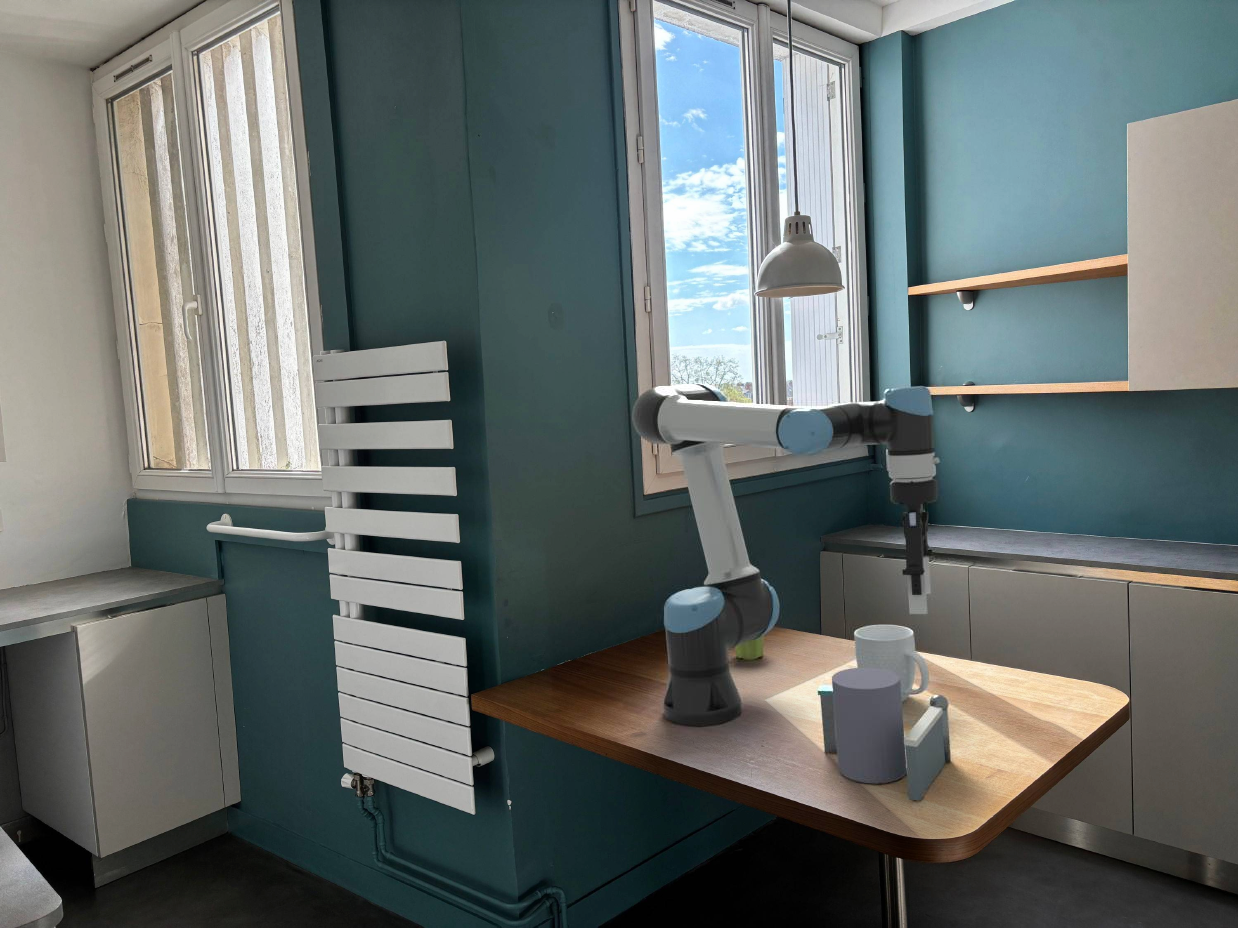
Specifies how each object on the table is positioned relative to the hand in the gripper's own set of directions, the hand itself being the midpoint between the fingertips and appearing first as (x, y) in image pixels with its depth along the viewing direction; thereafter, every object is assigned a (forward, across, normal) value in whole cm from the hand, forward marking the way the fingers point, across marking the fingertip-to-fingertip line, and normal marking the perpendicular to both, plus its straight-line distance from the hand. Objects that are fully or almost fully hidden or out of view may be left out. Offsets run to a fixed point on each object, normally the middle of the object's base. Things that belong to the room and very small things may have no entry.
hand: (920, 603), depth 147 cm
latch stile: (+23, -10, +15) cm, 29 cm away
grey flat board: (+22, -19, -1) cm, 29 cm away
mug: (+23, +16, +7) cm, 29 cm away
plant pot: (+23, +40, +41) cm, 62 cm away
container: (+23, -16, +8) cm, 29 cm away
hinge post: (+23, -11, -2) cm, 25 cm away
